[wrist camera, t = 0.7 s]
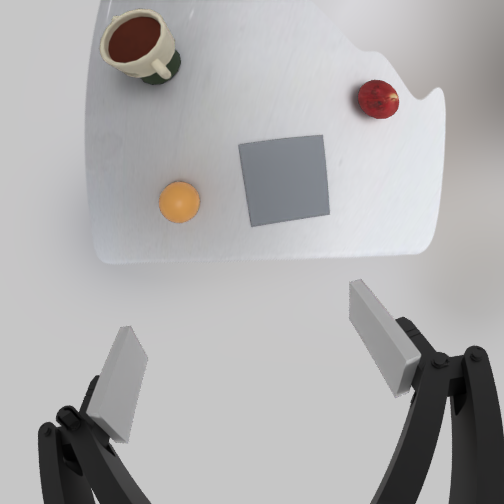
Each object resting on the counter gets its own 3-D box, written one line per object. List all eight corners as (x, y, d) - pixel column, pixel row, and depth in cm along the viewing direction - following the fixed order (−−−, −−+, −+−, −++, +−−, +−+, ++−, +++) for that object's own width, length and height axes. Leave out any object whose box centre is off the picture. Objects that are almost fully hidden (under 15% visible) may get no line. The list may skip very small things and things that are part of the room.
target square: (238, 144, 36) (238, 144, 36) (322, 135, 36) (322, 135, 36) (251, 226, 41) (251, 226, 41) (329, 214, 41) (329, 214, 41)
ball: (160, 183, 37) (150, 190, 32) (197, 175, 37) (193, 181, 32) (168, 219, 39) (160, 232, 34) (204, 212, 39) (201, 224, 34)
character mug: (120, 58, 29) (80, 32, 17) (159, 28, 28) (134, -11, 16) (161, 107, 33) (131, 93, 21) (202, 75, 32) (191, 46, 20)
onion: (360, 125, 36) (387, 124, 29) (342, 91, 34) (368, 83, 26) (387, 112, 35) (418, 110, 28) (372, 79, 33) (400, 71, 26)
